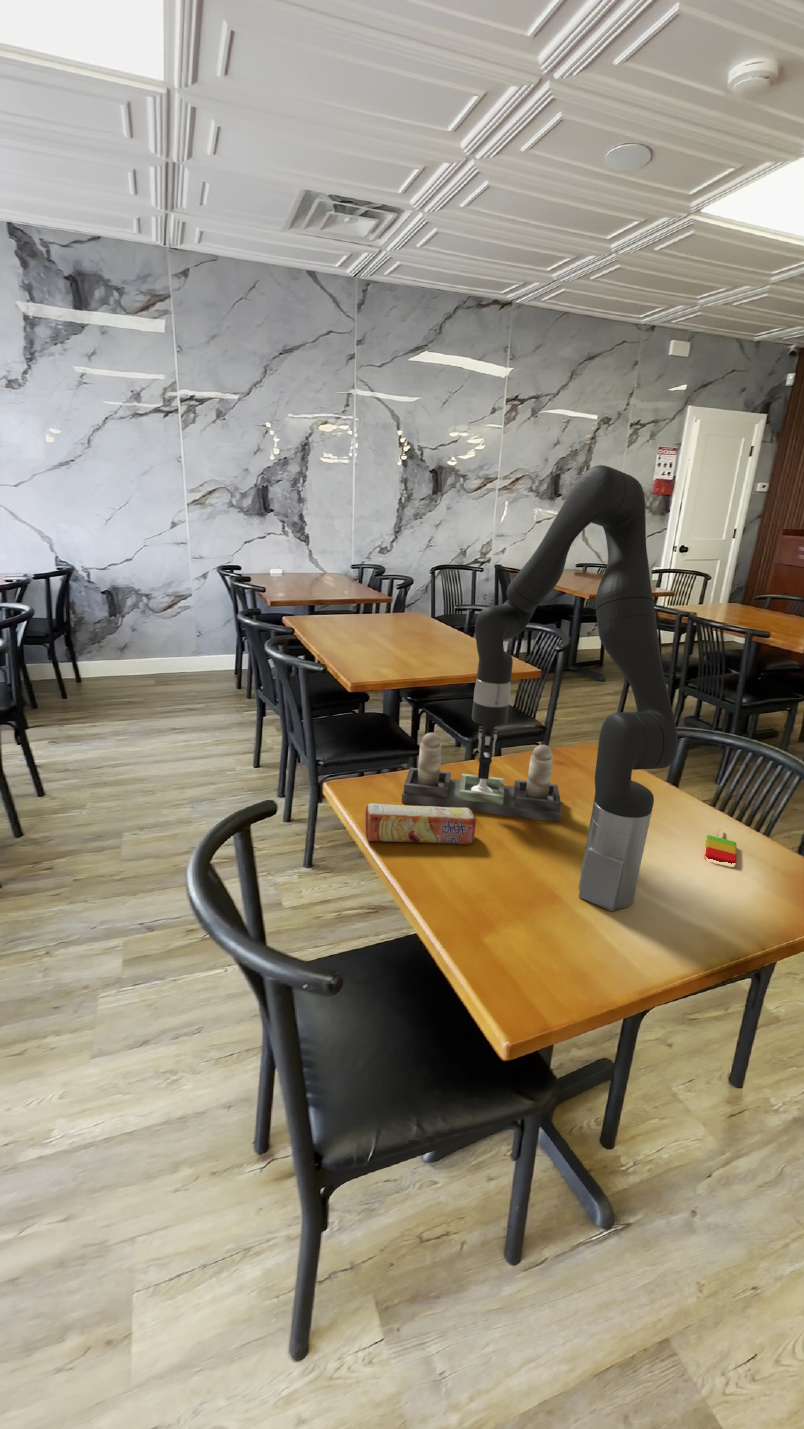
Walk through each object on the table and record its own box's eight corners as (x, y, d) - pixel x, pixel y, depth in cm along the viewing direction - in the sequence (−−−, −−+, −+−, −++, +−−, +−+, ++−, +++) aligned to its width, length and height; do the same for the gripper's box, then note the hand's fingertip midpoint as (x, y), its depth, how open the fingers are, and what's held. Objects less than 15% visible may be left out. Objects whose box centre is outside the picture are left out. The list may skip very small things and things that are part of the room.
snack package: (469, 831, 132) (472, 801, 130) (474, 849, 125) (478, 817, 123) (364, 828, 130) (366, 798, 128) (364, 845, 124) (366, 814, 122)
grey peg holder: (555, 799, 148) (565, 738, 143) (559, 822, 138) (570, 757, 133) (408, 781, 152) (412, 722, 147) (401, 802, 142) (405, 739, 137)
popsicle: (703, 863, 126) (705, 854, 126) (706, 830, 139) (708, 822, 139) (734, 871, 124) (737, 862, 124) (734, 837, 137) (736, 829, 136)
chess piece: (476, 798, 141) (481, 756, 138) (466, 789, 145) (471, 747, 142) (496, 797, 143) (502, 755, 139) (486, 787, 147) (492, 746, 144)
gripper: (509, 712, 130) (500, 786, 135) (508, 692, 143) (500, 760, 148) (472, 708, 131) (464, 781, 136) (474, 688, 144) (468, 756, 149)
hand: (483, 770), depth 142 cm, fingers open, 8 cm apart
